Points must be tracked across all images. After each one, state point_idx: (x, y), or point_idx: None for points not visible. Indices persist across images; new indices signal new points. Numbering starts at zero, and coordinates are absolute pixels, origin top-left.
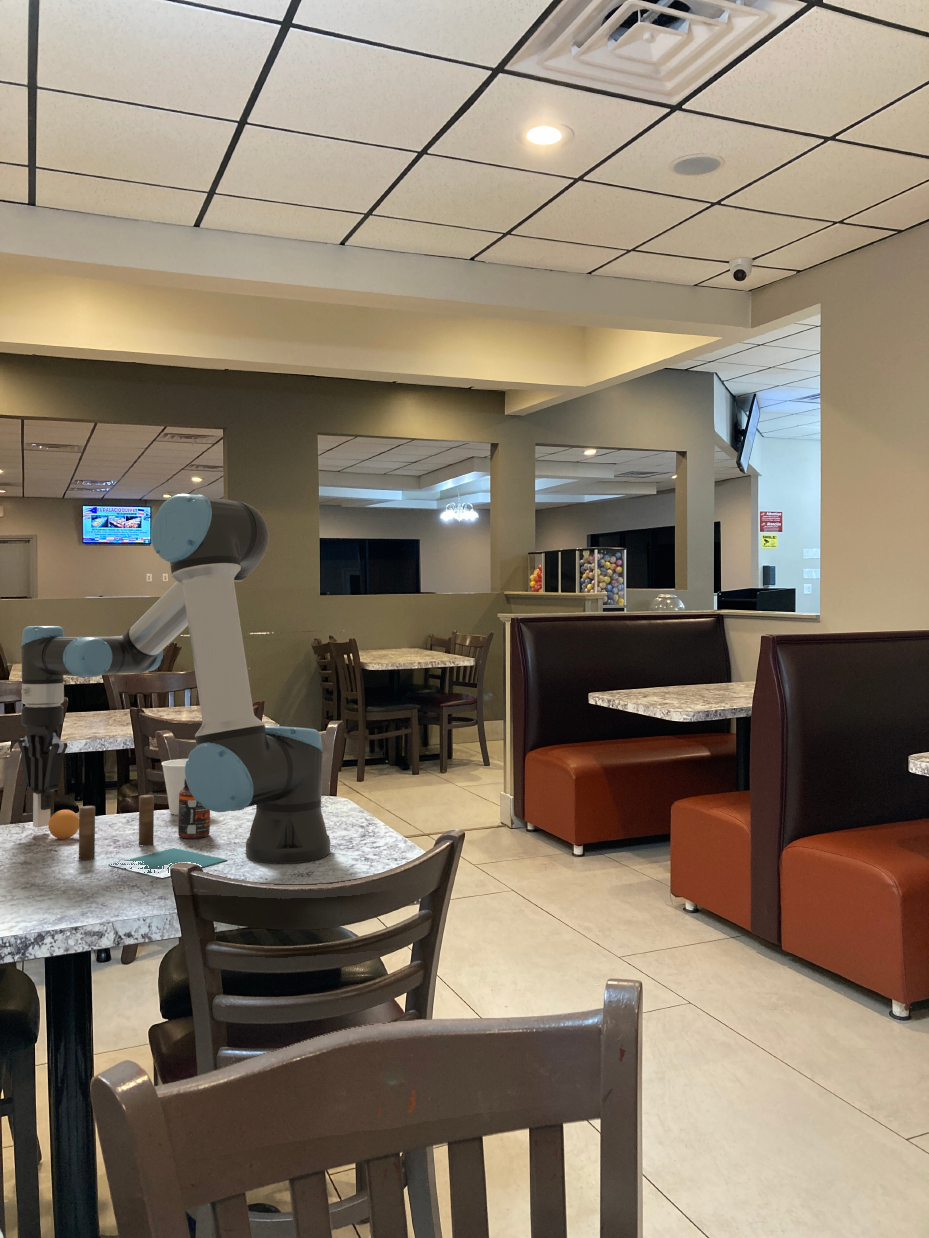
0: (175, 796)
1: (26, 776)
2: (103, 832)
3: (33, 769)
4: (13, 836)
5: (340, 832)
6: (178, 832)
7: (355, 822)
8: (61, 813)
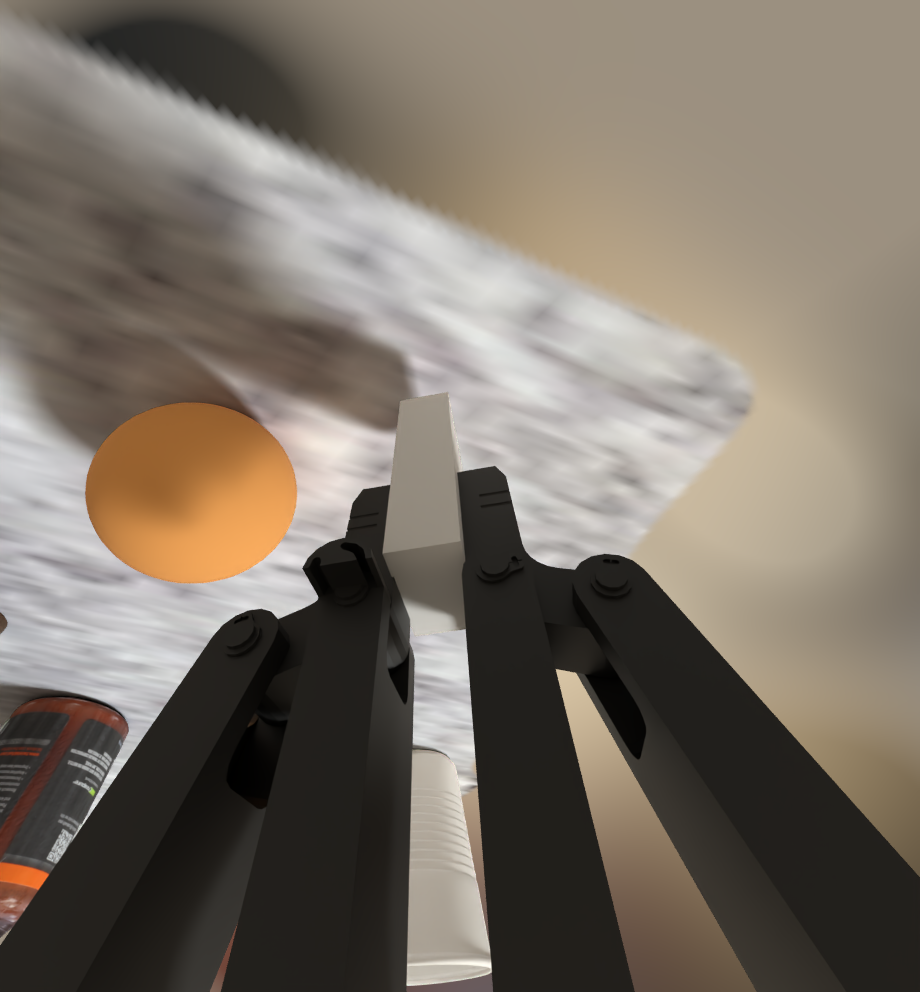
0: None
1: (664, 673)
2: (281, 587)
3: (512, 846)
4: (473, 257)
5: None
6: (62, 709)
7: None
8: (111, 520)
